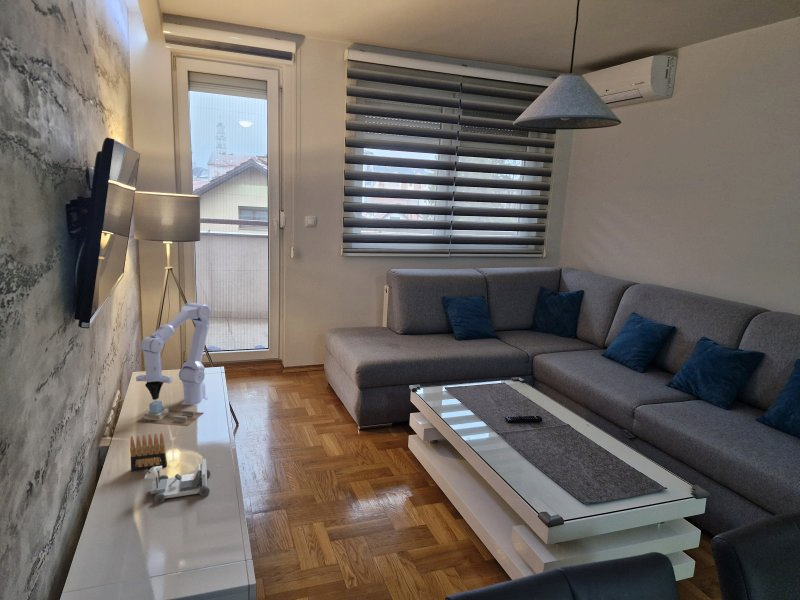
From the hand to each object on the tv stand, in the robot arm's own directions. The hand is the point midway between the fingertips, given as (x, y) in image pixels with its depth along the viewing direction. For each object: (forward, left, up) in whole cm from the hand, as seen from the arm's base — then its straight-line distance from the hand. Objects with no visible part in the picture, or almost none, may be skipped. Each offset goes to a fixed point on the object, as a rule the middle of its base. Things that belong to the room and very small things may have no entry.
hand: (155, 398), depth 208 cm
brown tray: (0, +6, -8) cm, 10 cm away
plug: (0, 0, -8) cm, 8 cm away
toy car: (+48, +38, -9) cm, 62 cm away
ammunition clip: (+37, +21, -8) cm, 44 cm away
